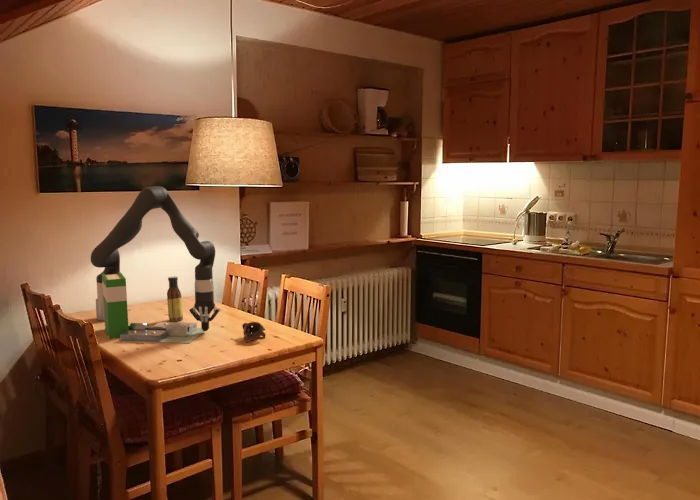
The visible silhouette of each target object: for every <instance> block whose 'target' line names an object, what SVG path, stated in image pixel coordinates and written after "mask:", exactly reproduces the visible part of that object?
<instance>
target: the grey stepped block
mask: <svg viewBox="0 0 700 500" xmlns="http://www.w3.org/2000/svg"><path fill="white" fill-rule="evenodd" d="M128 327H129V330H127V331H125V332H124V333H122V334H120V338H119V339H120V340H119V341H152V342H160V341H162V340H163V339H164V338H166V337H167V331H166V328H162V327H153V326H150V325H149V323H147V322H131V323H130V324H129V325H128Z"/></svg>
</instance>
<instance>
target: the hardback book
mask: <svg viewBox="0 0 700 500" xmlns="http://www.w3.org/2000/svg"><path fill="white" fill-rule="evenodd" d="M101 273H102V272H101ZM126 280H127V279H126V277H125V276H124V275H123V273H121V271H120V272H118V274H112V275H105V274H104V273H102V285H103V301H104V317H105V321H104V329H106V330H105V333H106V334H107V337H108V336H109V337H108V339H109V340H112V339H113V338H115V339H120V334H122V333H124V332H125V331H127V330H129V327H128V326H129V315H128V314H129V312H128V311H129V310H128V298H127V297H128V296H127V295H128V294H127V293H128V292H127V281H126ZM113 340H114V339H113Z"/></svg>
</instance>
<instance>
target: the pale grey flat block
mask: <svg viewBox="0 0 700 500" xmlns="http://www.w3.org/2000/svg"><path fill="white" fill-rule="evenodd" d="M152 327H162V328H166V331H167V336H188V335H189V334H190V333H192V332H193V331H194V330H195V329H197V328H198V327H197V322H181V321H159V322H158V323H156V324H154V325H153V326H152Z"/></svg>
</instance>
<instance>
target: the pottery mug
mask: <svg viewBox="0 0 700 500" xmlns="http://www.w3.org/2000/svg"><path fill="white" fill-rule="evenodd" d="M242 329H243V341H244V342H246V343H247V342H248V341H251V340H256V339H257V338H260V337H263V338H266V333H265V332H264V331H266V328H264V326H263V325H262V324H261V323H260V322H258V321H250V322H244V323H242Z"/></svg>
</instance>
